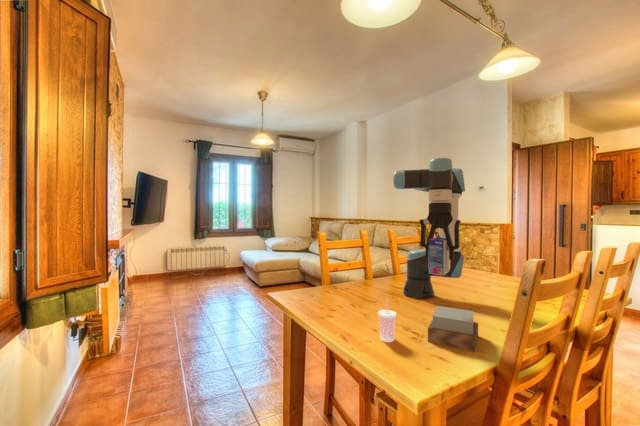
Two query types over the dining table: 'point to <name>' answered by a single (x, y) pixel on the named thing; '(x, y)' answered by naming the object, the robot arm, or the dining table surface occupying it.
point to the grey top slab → (453, 320)
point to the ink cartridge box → (438, 255)
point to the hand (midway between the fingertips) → (439, 267)
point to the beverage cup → (387, 324)
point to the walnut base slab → (454, 338)
